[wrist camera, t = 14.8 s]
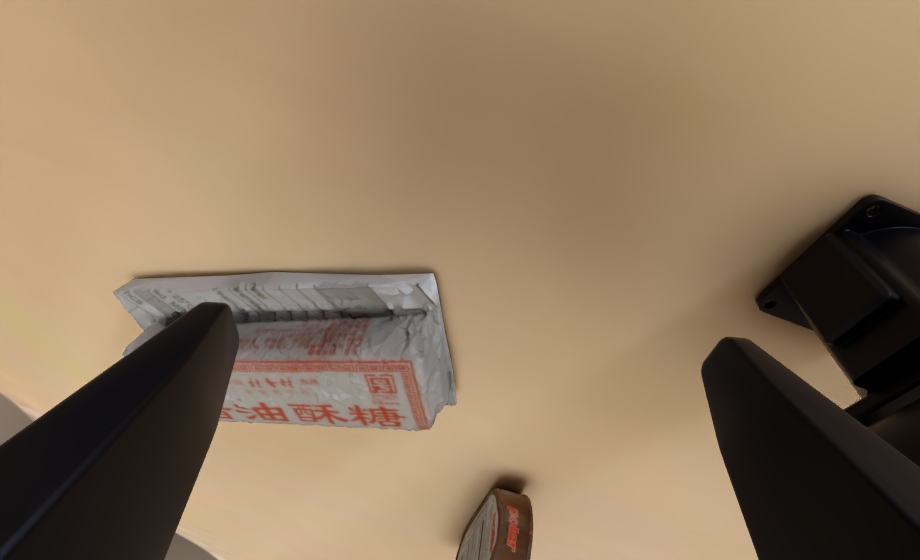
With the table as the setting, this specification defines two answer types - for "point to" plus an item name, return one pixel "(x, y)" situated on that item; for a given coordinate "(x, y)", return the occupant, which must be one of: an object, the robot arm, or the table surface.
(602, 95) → the table surface
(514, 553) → the tin
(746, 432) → the robot arm
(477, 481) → the table surface
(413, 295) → the packaged product
